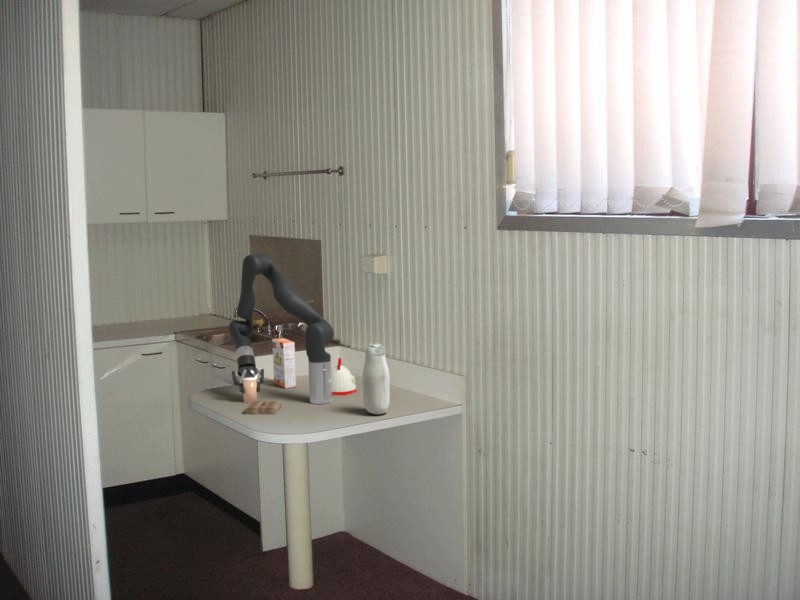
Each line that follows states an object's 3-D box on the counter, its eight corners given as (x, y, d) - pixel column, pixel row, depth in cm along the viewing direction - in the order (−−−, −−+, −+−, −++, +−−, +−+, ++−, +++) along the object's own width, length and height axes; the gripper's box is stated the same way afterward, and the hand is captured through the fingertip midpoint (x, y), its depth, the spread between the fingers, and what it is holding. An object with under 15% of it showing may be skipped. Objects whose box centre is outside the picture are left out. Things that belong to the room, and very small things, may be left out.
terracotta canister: (258, 399, 390) (257, 376, 389) (255, 402, 385) (254, 379, 384) (245, 399, 391) (244, 376, 390) (242, 403, 385) (241, 379, 384)
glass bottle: (394, 413, 362) (393, 342, 358) (377, 418, 354) (375, 346, 351) (376, 409, 368) (375, 340, 365) (358, 414, 361) (356, 343, 357)
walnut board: (281, 407, 376) (281, 401, 376) (275, 414, 364) (275, 407, 364) (252, 407, 377) (251, 401, 376) (245, 414, 365) (245, 408, 364)
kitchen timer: (357, 388, 409) (356, 355, 408) (355, 395, 396) (354, 360, 394) (326, 389, 410) (325, 355, 408) (322, 395, 396) (321, 361, 394)
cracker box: (273, 383, 424) (271, 338, 421) (285, 382, 427) (283, 337, 424) (284, 389, 411) (282, 342, 409) (296, 387, 414) (295, 341, 412)
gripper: (229, 355, 391) (233, 388, 381) (263, 352, 395) (268, 385, 385) (228, 365, 396) (232, 398, 386) (261, 362, 400) (267, 395, 390)
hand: (250, 391), depth 386 cm, fingers closed on terracotta canister, 5 cm apart
